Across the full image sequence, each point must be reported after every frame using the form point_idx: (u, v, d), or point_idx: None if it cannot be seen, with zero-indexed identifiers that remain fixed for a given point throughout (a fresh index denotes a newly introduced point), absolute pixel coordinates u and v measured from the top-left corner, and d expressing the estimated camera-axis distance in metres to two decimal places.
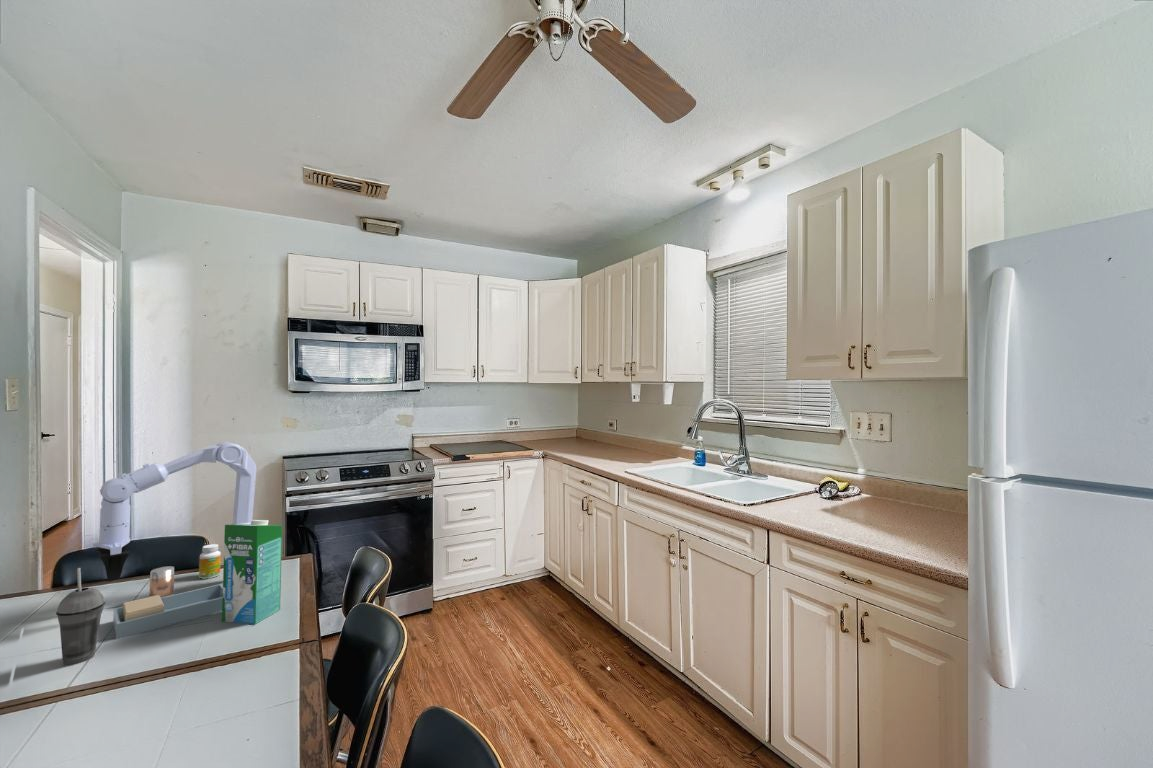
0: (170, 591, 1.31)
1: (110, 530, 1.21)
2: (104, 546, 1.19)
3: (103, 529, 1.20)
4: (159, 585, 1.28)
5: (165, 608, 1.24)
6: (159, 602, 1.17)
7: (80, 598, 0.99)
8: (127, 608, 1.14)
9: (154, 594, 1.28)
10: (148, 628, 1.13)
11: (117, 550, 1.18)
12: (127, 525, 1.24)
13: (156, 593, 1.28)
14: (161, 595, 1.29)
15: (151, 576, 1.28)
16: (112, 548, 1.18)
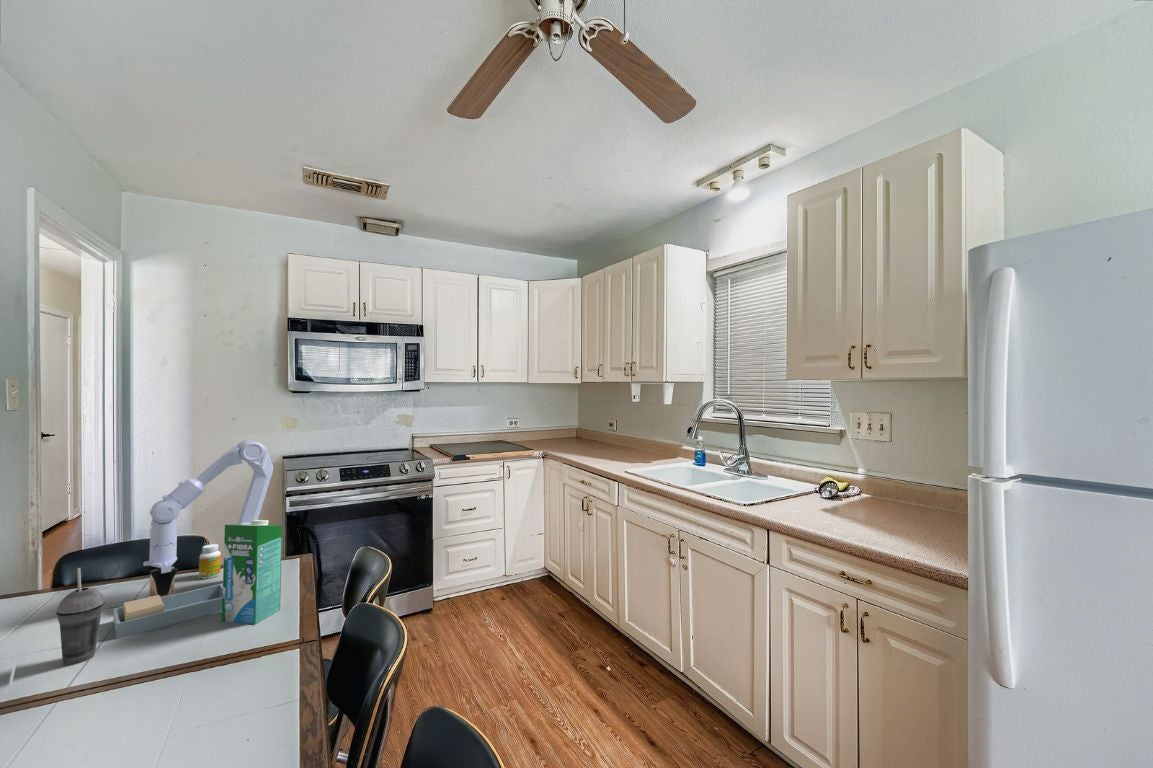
0: (170, 591, 1.31)
1: (160, 550, 1.29)
2: (155, 565, 1.27)
3: (153, 548, 1.28)
4: None
5: (165, 608, 1.24)
6: (159, 602, 1.17)
7: (80, 598, 0.99)
8: (127, 608, 1.14)
9: (154, 594, 1.28)
10: (148, 628, 1.13)
11: (167, 568, 1.26)
12: (174, 544, 1.32)
13: (156, 593, 1.28)
14: None
15: (151, 576, 1.28)
16: (163, 567, 1.25)
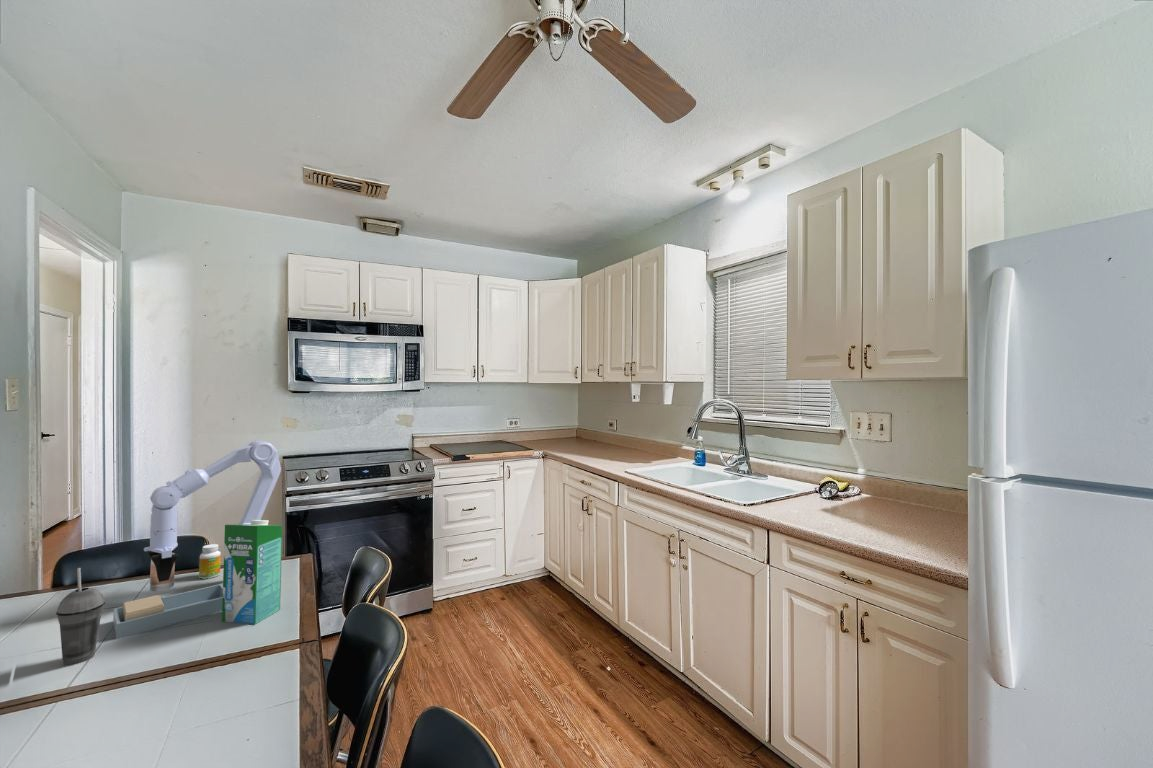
0: (171, 577, 1.31)
1: (160, 535, 1.29)
2: (155, 550, 1.27)
3: (154, 534, 1.28)
4: None
5: (165, 608, 1.24)
6: (159, 602, 1.17)
7: (80, 598, 0.99)
8: (127, 608, 1.14)
9: (155, 580, 1.28)
10: (148, 628, 1.13)
11: (168, 554, 1.26)
12: (175, 530, 1.32)
13: (157, 579, 1.28)
14: None
15: (152, 562, 1.29)
16: (163, 552, 1.26)
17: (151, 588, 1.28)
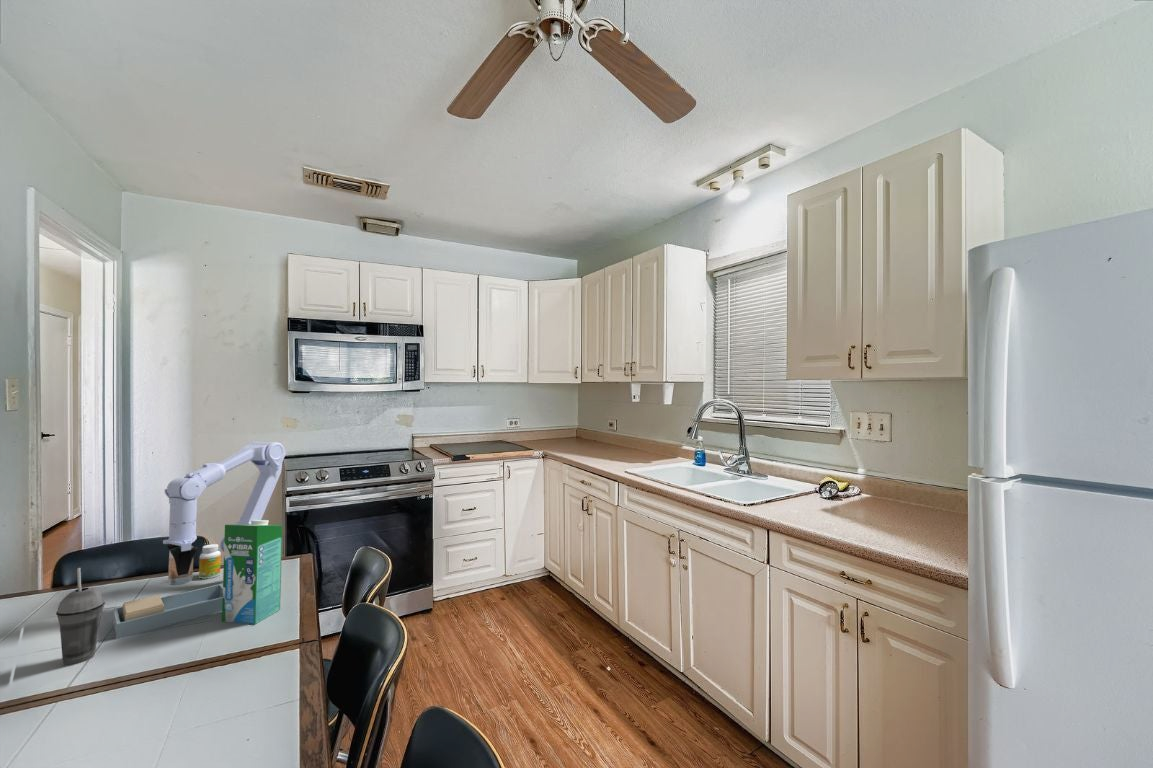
0: (189, 571, 1.27)
1: (179, 528, 1.25)
2: (174, 543, 1.24)
3: (173, 526, 1.25)
4: None
5: (165, 608, 1.24)
6: (159, 602, 1.17)
7: (80, 598, 0.99)
8: (127, 608, 1.14)
9: (173, 573, 1.25)
10: (148, 628, 1.13)
11: (187, 547, 1.23)
12: (194, 523, 1.28)
13: (175, 572, 1.25)
14: (180, 575, 1.25)
15: (170, 555, 1.25)
16: (183, 545, 1.22)
17: (169, 582, 1.25)
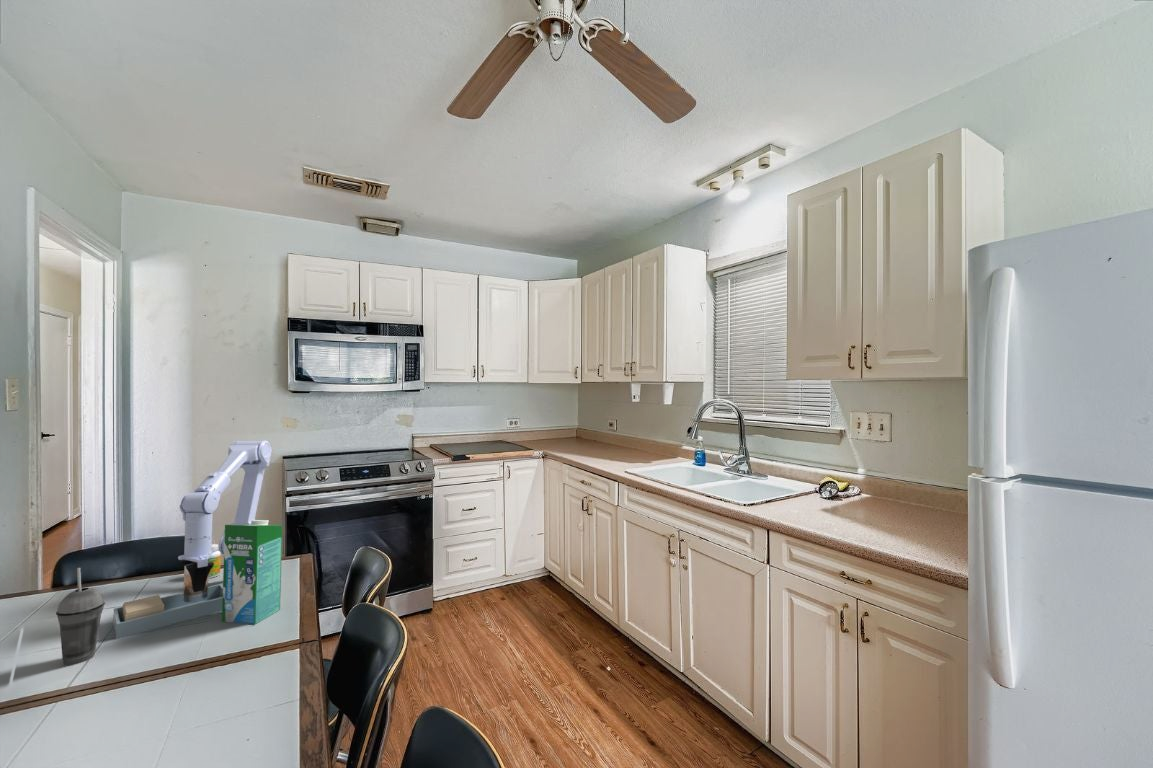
0: (205, 587, 1.24)
1: (195, 543, 1.23)
2: (190, 559, 1.21)
3: (189, 542, 1.22)
4: None
5: (165, 608, 1.24)
6: (159, 602, 1.17)
7: (80, 598, 0.99)
8: (127, 608, 1.14)
9: (188, 590, 1.22)
10: (148, 628, 1.13)
11: (204, 563, 1.20)
12: (210, 537, 1.26)
13: (191, 589, 1.22)
14: None
15: (185, 571, 1.22)
16: (199, 561, 1.19)
17: (184, 599, 1.22)
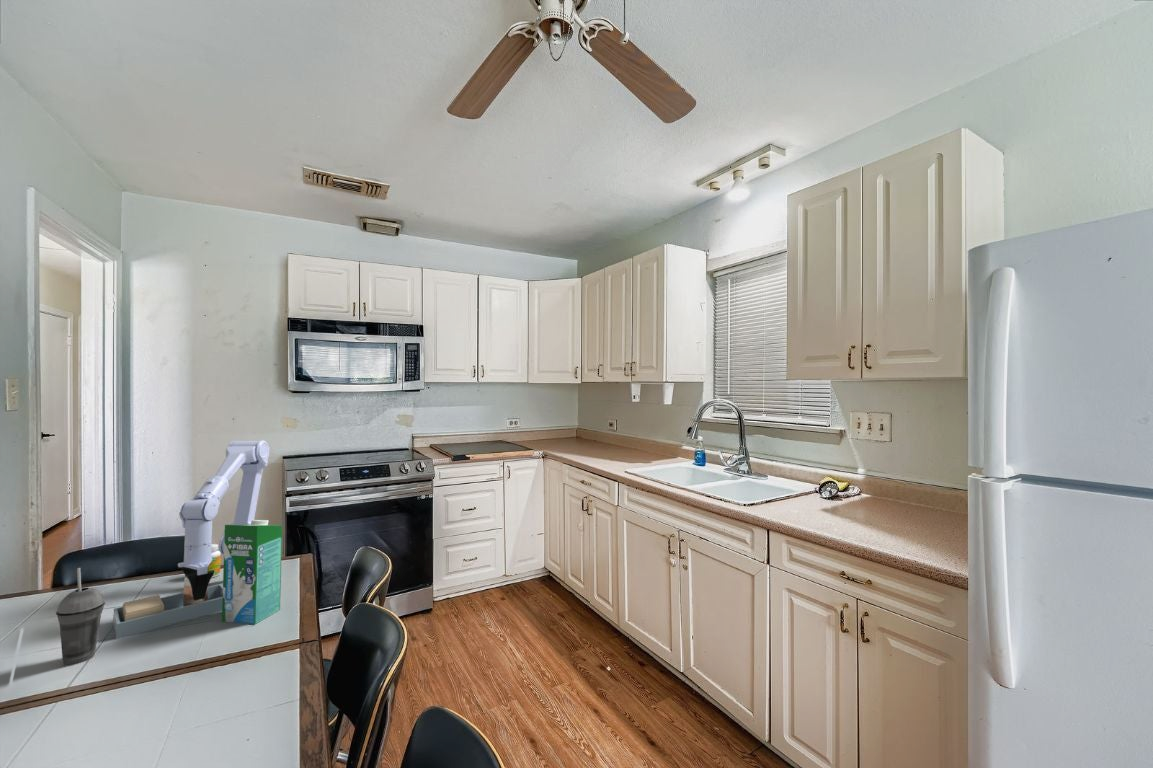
0: (205, 598, 1.24)
1: (195, 550, 1.22)
2: (190, 566, 1.21)
3: (188, 549, 1.22)
4: None
5: (165, 608, 1.24)
6: (159, 602, 1.17)
7: (80, 598, 0.99)
8: (127, 608, 1.14)
9: (188, 602, 1.22)
10: (148, 628, 1.13)
11: (204, 570, 1.20)
12: (210, 545, 1.26)
13: (190, 601, 1.22)
14: (195, 603, 1.22)
15: (185, 583, 1.22)
16: (199, 568, 1.19)
17: None
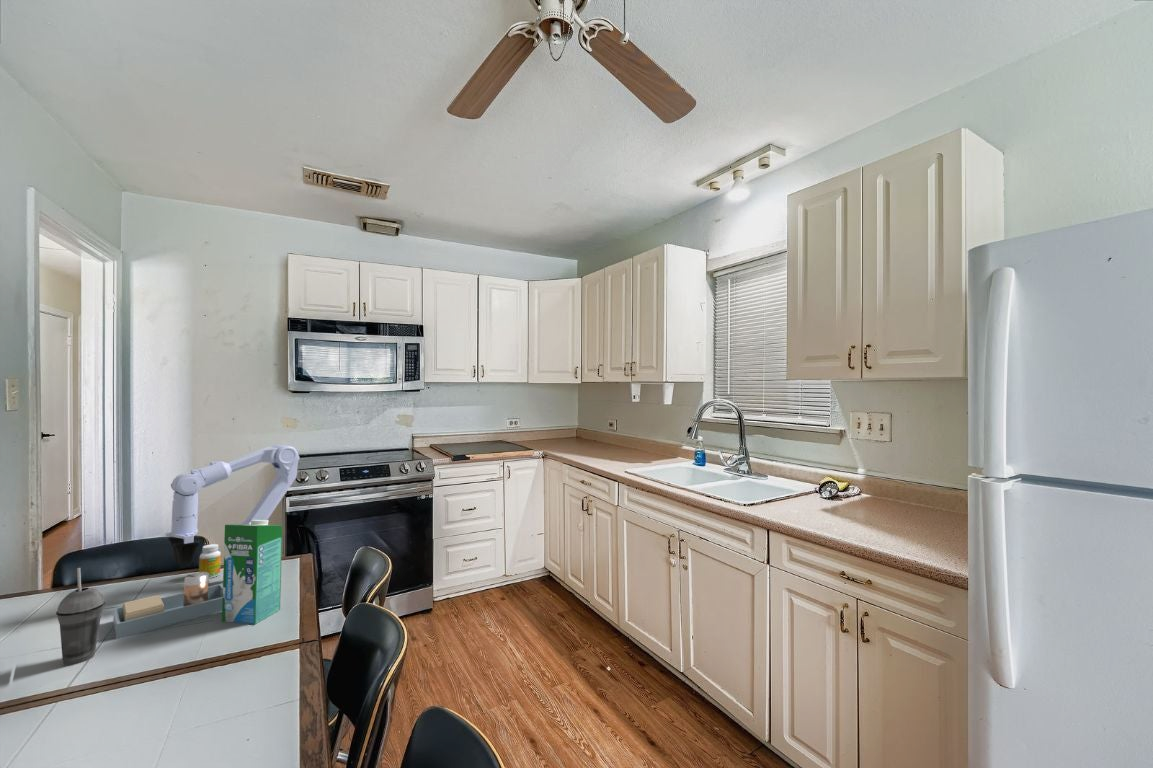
0: (205, 598, 1.24)
1: (182, 521, 1.31)
2: (177, 536, 1.29)
3: (175, 520, 1.30)
4: (193, 592, 1.22)
5: (165, 608, 1.24)
6: (159, 602, 1.17)
7: (80, 598, 0.99)
8: (127, 608, 1.14)
9: (188, 601, 1.22)
10: (148, 628, 1.13)
11: (190, 539, 1.28)
12: (196, 517, 1.34)
13: (190, 600, 1.22)
14: (195, 603, 1.22)
15: (185, 582, 1.22)
16: (186, 537, 1.28)
17: None
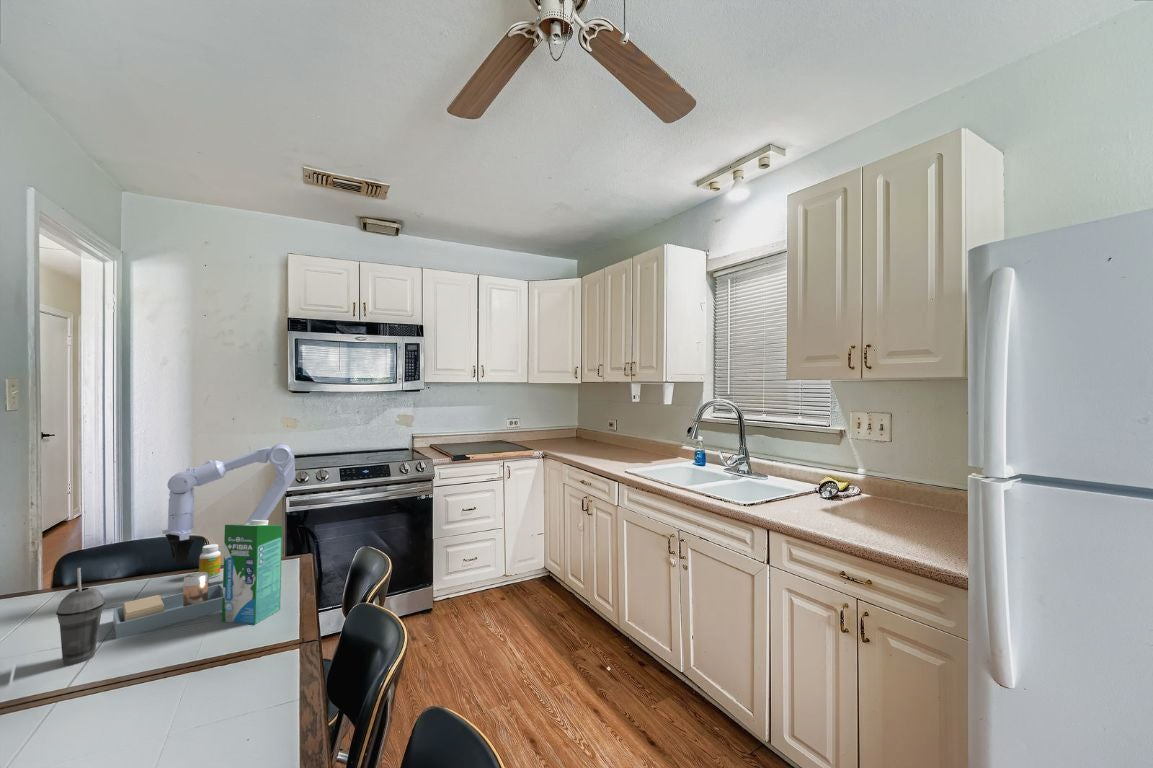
0: (204, 598, 1.24)
1: (178, 519, 1.34)
2: (173, 533, 1.32)
3: (172, 517, 1.33)
4: (192, 592, 1.22)
5: (165, 608, 1.24)
6: (159, 602, 1.17)
7: (80, 598, 0.99)
8: (127, 608, 1.14)
9: (188, 602, 1.22)
10: (148, 628, 1.13)
11: (185, 536, 1.31)
12: (192, 514, 1.37)
13: (190, 601, 1.22)
14: (194, 603, 1.22)
15: (184, 583, 1.22)
16: (181, 534, 1.31)
17: None
